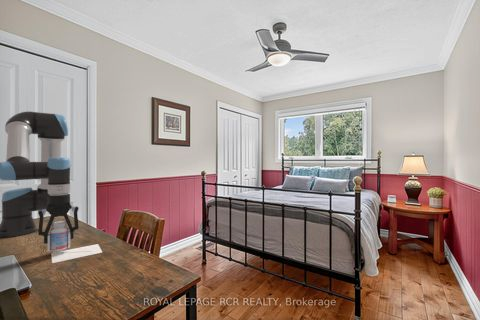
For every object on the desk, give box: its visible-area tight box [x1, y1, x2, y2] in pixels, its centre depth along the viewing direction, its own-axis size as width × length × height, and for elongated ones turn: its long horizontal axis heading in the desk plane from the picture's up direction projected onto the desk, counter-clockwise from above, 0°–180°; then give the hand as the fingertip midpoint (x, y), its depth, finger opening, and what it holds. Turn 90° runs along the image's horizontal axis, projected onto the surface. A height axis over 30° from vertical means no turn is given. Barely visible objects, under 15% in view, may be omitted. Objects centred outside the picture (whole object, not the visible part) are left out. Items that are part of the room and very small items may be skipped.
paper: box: [51, 243, 103, 264], centre depth 100 cm, size 12×17×1 cm
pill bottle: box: [49, 220, 69, 252], centre depth 100 cm, size 6×6×11 cm
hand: (59, 248), depth 100 cm, fingers closed on pill bottle, 6 cm apart
